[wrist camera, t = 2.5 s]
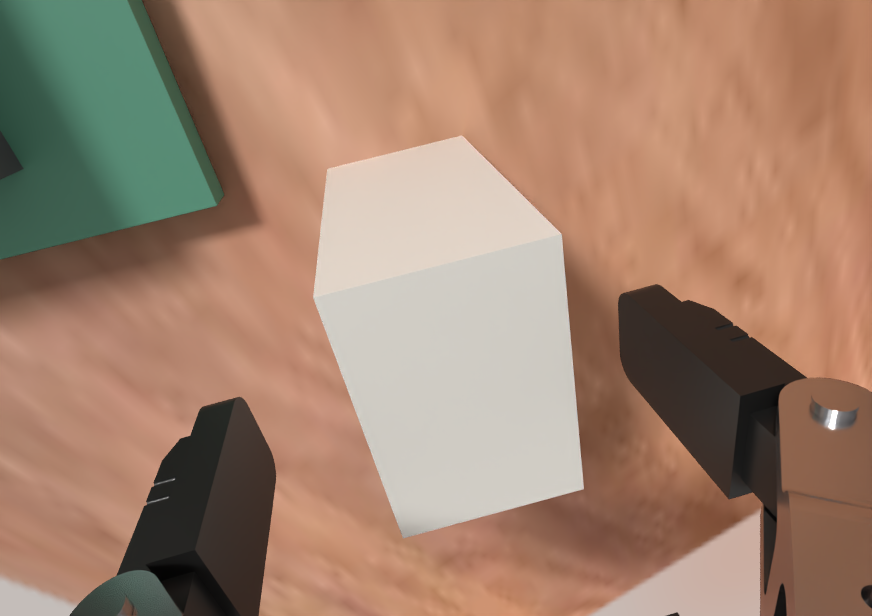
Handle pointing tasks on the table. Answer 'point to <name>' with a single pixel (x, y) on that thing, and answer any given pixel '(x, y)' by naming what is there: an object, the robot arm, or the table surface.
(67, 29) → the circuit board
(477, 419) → the plug
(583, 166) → the table surface
